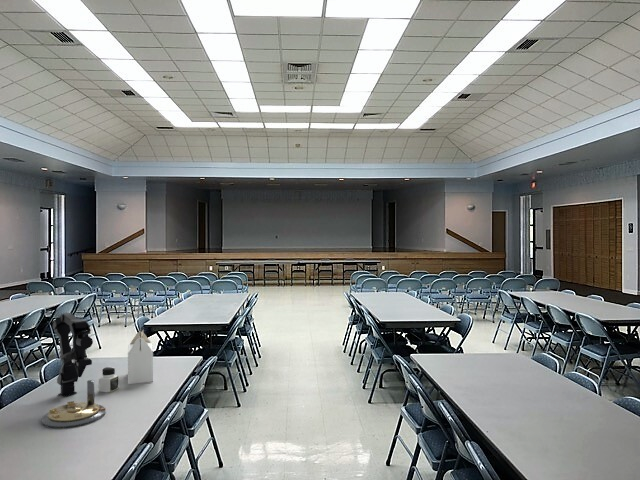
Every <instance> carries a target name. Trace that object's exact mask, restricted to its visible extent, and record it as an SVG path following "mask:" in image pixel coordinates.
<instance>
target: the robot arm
mask: <svg viewBox="0 0 640 480" xmlns="http://www.w3.org/2000/svg"><path fill="white" fill-rule="evenodd" d="M52 329H53V330H54V335H56V336H57V337H58V340H59V349H60V356H59V358H60V361H61V363H62V364H61V367H60V368H59V373H58V376H57V378H56V384H58V385H59V386H60V392H59V393H57V395H58V396H61V397H69V396H72V395H75V394H77V393H78V391H75V390H76V388H75V387H76V385H75V383H76V382H78V381H79V378H82V376H83V374H84V372H85V369H86V368H87V367H88V366H91V365H92V364H93V360H92V359H90V358H89V357H88V355H87V352H86V351H87V350H88V349H89V348H91V347H92V346H93V342H94V340H93V338H92V337H91V336H89V335H90V334H91V331H92V329H91V326H90V325H89V322H88V321H87V320H86V319H83V318H78V317H76V315H75V316H74V314H73V313H72V312H65V313H61V314H60V316H58V317H57V318H55V319H54V321H53V323H52ZM70 333H71V334H72V347H71V344H70V336H69V335H70Z"/></svg>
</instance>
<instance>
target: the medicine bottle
mask: <svg viewBox="0 0 640 480" xmlns="http://www.w3.org/2000/svg"><path fill="white" fill-rule="evenodd" d="M118 389H119V375H117V374H116V368H115V367H113V366H106V367H104V368H103V369H102V376H101V377H99V378H98V392H103V393H112V392H114V391H116V390H118Z"/></svg>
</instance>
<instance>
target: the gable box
mask: <svg viewBox="0 0 640 480" xmlns="http://www.w3.org/2000/svg"><path fill="white" fill-rule="evenodd" d="M144 332H145V330H144V328H143V329H142V328H141V327H139V331H138V332H137V333H136V334H135V336H134V337H133V339H132V340H131V341H130V343H129V344H128V348H127V385H134V384H145V383H153V382H154V350H153V343H152V342H151V341H150V339H149V337H147V334H145V333H144Z"/></svg>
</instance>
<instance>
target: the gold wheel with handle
mask: <svg viewBox="0 0 640 480" xmlns="http://www.w3.org/2000/svg"><path fill="white" fill-rule="evenodd" d="M86 383H87V384H86V385H87V387H86V390H87V391H86V393H87V400H86V402H85V401H84V402H75V401H74V400H73V401H67V404H63V405H60V406H57V407H51V408H50V409H49V411H48V412H49V413H48V412H47V413H48V419H49V420H51V421H53V422H73V421H79V420H83V419H87V418H90V417H92V416H94V415H96V414H97V413H98V412H99V411H100V406H99V405H100V404H98V403H96V402H95V380H94V379H89V380H87V381H86Z"/></svg>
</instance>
